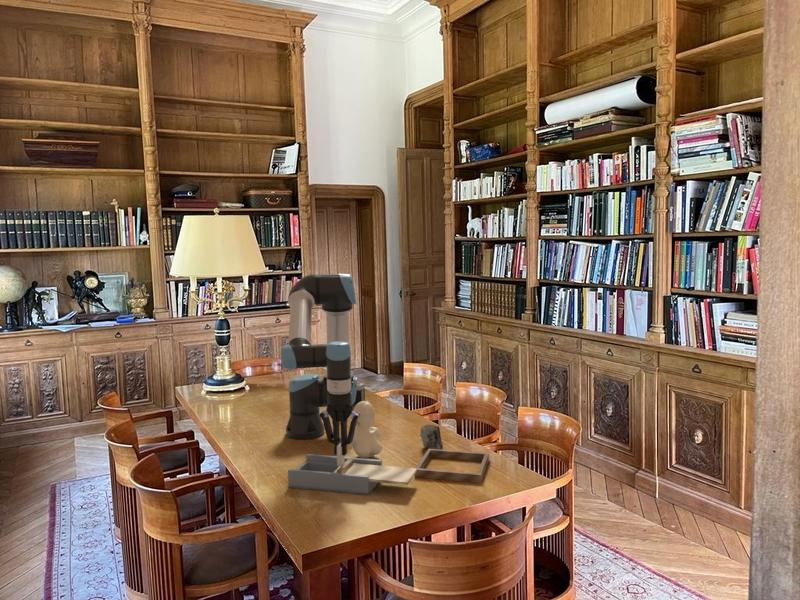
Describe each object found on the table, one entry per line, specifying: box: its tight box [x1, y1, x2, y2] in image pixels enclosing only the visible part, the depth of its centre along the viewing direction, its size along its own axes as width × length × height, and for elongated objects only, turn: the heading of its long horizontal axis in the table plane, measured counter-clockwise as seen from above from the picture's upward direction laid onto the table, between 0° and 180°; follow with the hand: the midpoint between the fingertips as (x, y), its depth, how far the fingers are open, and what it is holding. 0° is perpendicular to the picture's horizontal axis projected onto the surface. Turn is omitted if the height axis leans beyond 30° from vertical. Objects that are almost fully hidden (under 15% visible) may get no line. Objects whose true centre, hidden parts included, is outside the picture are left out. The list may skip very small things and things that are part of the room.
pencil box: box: [287, 453, 383, 496], centre depth 196 cm, size 26×15×6 cm, turn 75°
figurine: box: [347, 400, 383, 459], centre depth 218 cm, size 14×9×20 cm
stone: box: [420, 424, 444, 450], centre depth 227 cm, size 10×10×10 cm
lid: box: [333, 459, 417, 486], centre depth 193 cm, size 25×12×2 cm, turn 74°
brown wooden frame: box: [414, 448, 490, 484], centre depth 207 cm, size 21×20×2 cm
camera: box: [353, 382, 366, 405], centre depth 294 cm, size 14×8×10 cm, turn 58°
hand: (340, 464), depth 196 cm, fingers closed
